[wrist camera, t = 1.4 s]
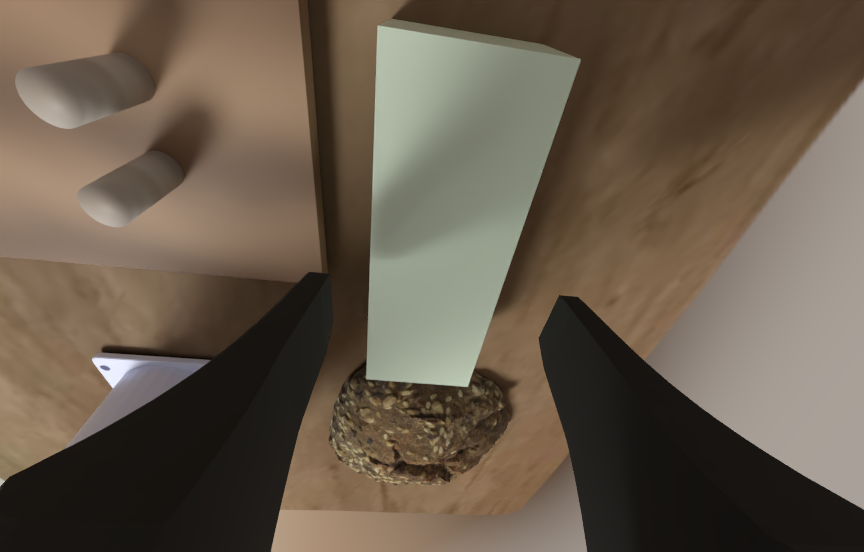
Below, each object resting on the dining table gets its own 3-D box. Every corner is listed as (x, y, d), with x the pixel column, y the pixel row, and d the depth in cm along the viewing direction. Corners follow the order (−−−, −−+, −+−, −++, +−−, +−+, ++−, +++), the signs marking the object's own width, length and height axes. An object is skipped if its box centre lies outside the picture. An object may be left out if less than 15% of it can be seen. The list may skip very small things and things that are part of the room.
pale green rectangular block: (461, 327, 20) (467, 386, 17) (376, 319, 20) (366, 379, 17) (540, 43, 12) (581, 59, 9) (391, 18, 11) (377, 25, 8)
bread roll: (314, 427, 27) (295, 498, 23) (369, 330, 20) (356, 408, 17) (456, 458, 31) (461, 525, 27) (543, 385, 24) (566, 459, 20)
